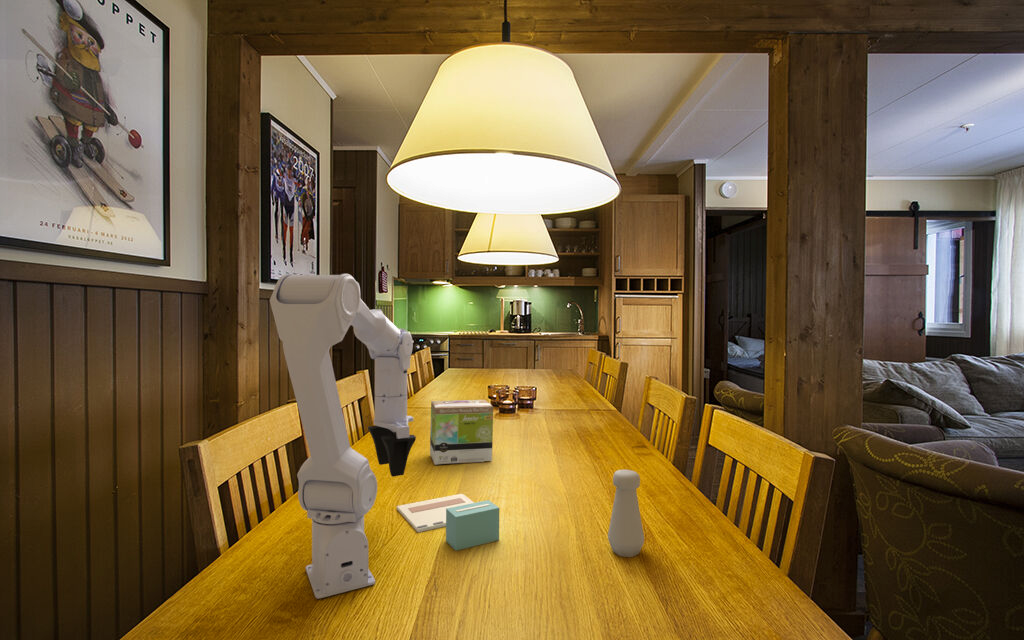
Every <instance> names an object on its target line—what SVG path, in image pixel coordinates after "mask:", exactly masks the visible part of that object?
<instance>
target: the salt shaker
mask: <svg viewBox="0 0 1024 640" xmlns="http://www.w3.org/2000/svg"><path fill="white" fill-rule="evenodd" d="M612 483H613V486H614V487H616V489H615V494H614V499H613V505H612V511H611V516H610V523H609V527H608V533H607V540H608V543H609V545H610V548H611V550H612V552H613V553H615V554H616V555H617V556H619V557H625V558H632V557H635V556H638V555H639V554H640V552H641V550H642V548H643V545H644V543H645V534H644V530H643V524H642V519H641V518H642V517H641V512H640V506H639V499H638V494H637V489H638V488H640V485H641V478H640V474H639V473H638V472H636V471H635V470H631V469H618V470H616V471H615V472H614V473H613V477H612Z"/></svg>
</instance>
